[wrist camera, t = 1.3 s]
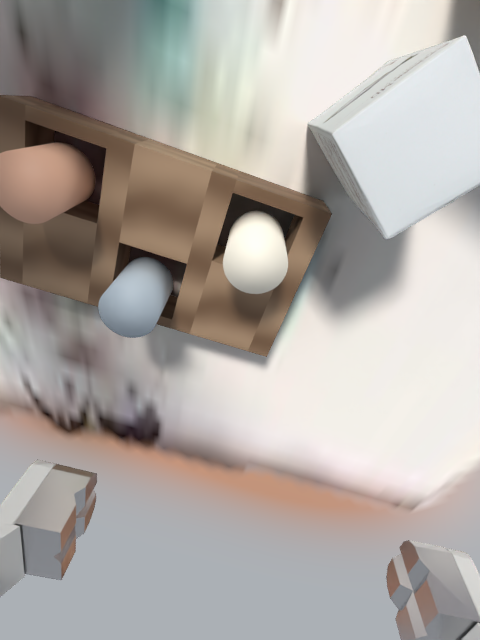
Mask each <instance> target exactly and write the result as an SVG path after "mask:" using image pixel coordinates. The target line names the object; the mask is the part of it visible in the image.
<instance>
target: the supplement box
mask: <svg viewBox="0 0 480 640" xmlns="http://www.w3.org/2000/svg"><path fill="white" fill-rule="evenodd" d="M308 127H309V128H310V130H311V132H312V133H313V135H314V137H315V139H316V140H317V142H318V144H319V146H320V148H321V149H322V151H323V153H324V155H325V157H326V158H327V160H328V162H329V164H330V165H331V167H332V169H333V171H334V172H335V174H336V176H337V178H338V179H339V181H340V183H341V185H342V186H343V188H344V190H345V192H346V193H347V195H348V196H349V197H350V199H351V200H352V201H353V202H354V204H355V205H356V206H357V207H358V208H359V209H360V210H361V211H362V212H363V214H364V215H365V216H366V217H367V218H368V219H369V220H370V221H371V222H372V224H373V225H374V226H375V227H376V228H377V229H378V230H379V232H380V233H381V234H382V236H383V238H384V239H390V238H392V237H394V236H396V235H397V234H399V233H401V232H403V231H404V230H406V229H407V228H409V227H411V226H412V225H414V224H416V223H417V222H419V221H421V220H422V219H424V218H426V217H427V216H429V215H431V214H432V213H434V212H436V211H438V210H439V209H441V208H443V207H445V206H447V205H448V204H450V203H452V202H453V201H455V200H456V199H458V198H459V197H461V196H463V195H464V194H466V193H468V192H469V191H471V190H473V189H474V188H476V187H478V186H480V73H479V70H478V67H477V64H476V61H475V58H474V55H473V52H472V49H471V47H470V44H469V42H468V39H467V37H466V36H465V35H463V36H461V37H459V38H456V39H453V40H450V41H447V42H444V43H441V44H438V45H435V46H432V47H429V48H426V49H423V50H420V51H417V52H414V53H411V54H408V55H405V56H402V57H399V58H396V59H393V60H391V61H388V62H386V63H385V64H384V65H383V66H382V67H380V68H379V69H378V70H377V71H376V72H375V73H373V74H372V75H371V76H370V77H368V78H367V79H366V80H365V81H363V82H362V83H361V84H360V85H358V86H357V87H356V88H354V89H353V90H352V91H350V92H349V93H348V94H346V95H345V96H344V97H342V98H341V99H340V100H338V101H337V102H336V103H335V104H333V105H332V106H331V107H329V108H328V109H327V110H325V111H324V112H322V113H321V114H320V115H318V116H317V117H315V118H314V119H313V120H311V121H310V122H308Z"/></svg>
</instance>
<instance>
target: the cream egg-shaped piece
mask: <svg viewBox="0 0 480 640" xmlns="http://www.w3.org/2000/svg"><path fill="white" fill-rule="evenodd" d="M223 269H224V273H225V275H226V277H227V279H228V280H229V282H230V283H231V284H232V285H233V286H234V287H236V288H237V289H239V290H240V291H243V292H246V293H250V294H261V293H265V292H268V291H270V290H272V289H274V288H276V287H277V286H278V285H279V284H280V283H281V282H282V280H283V279H284V277H285V275H286V273H287V269H288V257H287V251H286V246H285V240H284V235H283V230H282V227H281V225H280V223H279V222H278V220H277V219H276V218H275V217H273V216H272V215H270V214H269V213H266V212H263V211H250V212H247V213H244V214H242V215H241V216H240V217H238V218H237V219H236V220H235V222H234V223H233V225H232V227H231V229H230V233H229V237H228V241H227V245H226V250H225V254H224V258H223Z"/></svg>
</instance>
